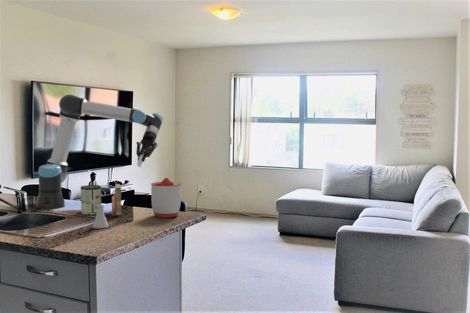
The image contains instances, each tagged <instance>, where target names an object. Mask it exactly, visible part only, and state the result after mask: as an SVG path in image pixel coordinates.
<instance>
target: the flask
mask: <svg viewBox="0 0 470 313" xmlns="http://www.w3.org/2000/svg"><path fill="white" fill-rule="evenodd" d="M104 207H105V205H103V204H101V205H97V214H95V218H94V221H93V224H92V228H93V229H107V228H108V227H109V223H108V221H107V218H106V216H105V212H104Z"/></svg>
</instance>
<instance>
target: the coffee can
mask: <svg viewBox="0 0 470 313" xmlns="http://www.w3.org/2000/svg"><path fill="white" fill-rule="evenodd" d="M101 188H102V185H97V184H89V185H82V186H80V208H81V209H80V211H81V212H80V213H81V214H82V215H88V214H90V215H97V205H102V194H101V192H102V189H101Z"/></svg>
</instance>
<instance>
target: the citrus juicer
mask: <svg viewBox="0 0 470 313" xmlns="http://www.w3.org/2000/svg"><path fill="white" fill-rule="evenodd" d="M150 186H151V192H150V193H151V196H150V197H151V198H150V199H151V207H152V211H153V212H152V213H153V214H154V217H157V218H163V219H168V218H174V217H177V216H178V215H179V213H180V208H181V203H182V192H183V189H182V183H181V182H180V183H178V184H175V185H174V181H171V180H170V179H169V178H168V177H165V178H164V179H163V180H162V181H156V182H152V183H150Z"/></svg>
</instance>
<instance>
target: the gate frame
mask: <svg viewBox="0 0 470 313" xmlns="http://www.w3.org/2000/svg"><path fill="white" fill-rule="evenodd" d="M111 216H114V217H115V216H117V215H116V196H115V195H111Z"/></svg>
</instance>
